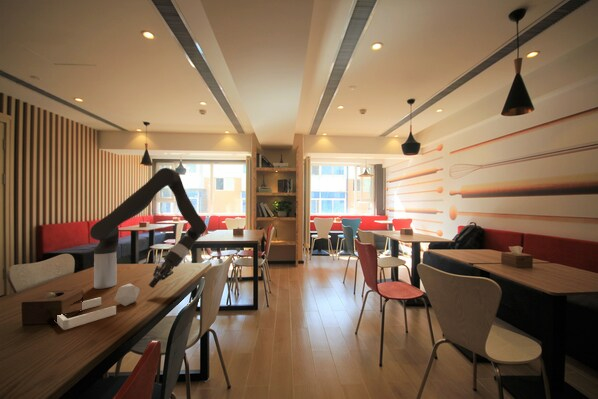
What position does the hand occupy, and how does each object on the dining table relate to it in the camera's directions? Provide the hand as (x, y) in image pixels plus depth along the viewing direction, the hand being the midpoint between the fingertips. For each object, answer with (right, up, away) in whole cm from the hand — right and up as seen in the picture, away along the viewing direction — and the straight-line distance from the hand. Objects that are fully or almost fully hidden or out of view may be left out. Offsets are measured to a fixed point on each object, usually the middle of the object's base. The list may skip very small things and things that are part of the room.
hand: (150, 286), depth 116 cm
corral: (-14, -4, -19) cm, 24 cm away
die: (-5, -5, -8) cm, 10 cm away
